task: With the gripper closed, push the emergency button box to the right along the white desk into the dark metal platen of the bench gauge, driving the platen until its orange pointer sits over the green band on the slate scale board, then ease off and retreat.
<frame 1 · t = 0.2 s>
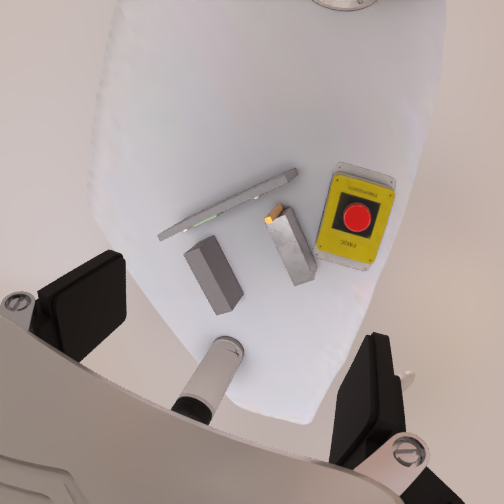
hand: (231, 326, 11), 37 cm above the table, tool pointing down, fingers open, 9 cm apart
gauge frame: (237, 197, 48), on the table
emergency button: (353, 217, 45), on the table
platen: (289, 246, 44), point 4 cm above the table, slide at 0.0 cm
travel mug: (229, 347, 59), on the table
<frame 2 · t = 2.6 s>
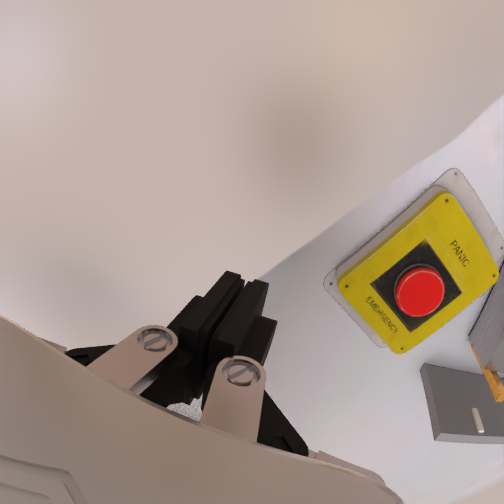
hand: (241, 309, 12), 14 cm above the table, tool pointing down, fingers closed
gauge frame: (493, 380, 24), on the table
emergency button: (419, 262, 24), on the table
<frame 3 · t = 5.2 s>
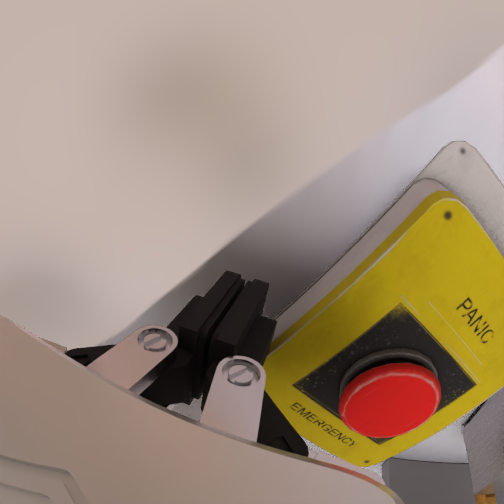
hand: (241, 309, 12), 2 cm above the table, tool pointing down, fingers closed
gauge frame: (490, 467, 14), on the table
emergency button: (400, 324, 13), on the table, touching gripper
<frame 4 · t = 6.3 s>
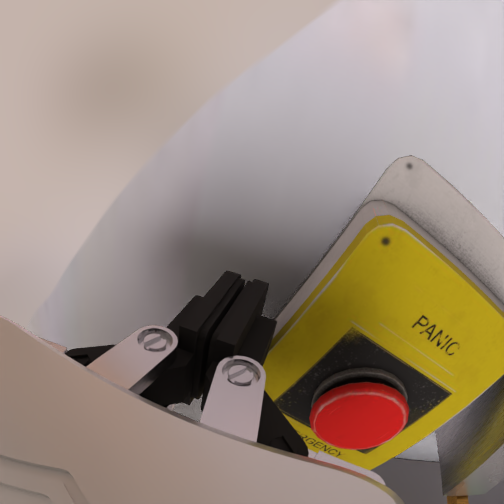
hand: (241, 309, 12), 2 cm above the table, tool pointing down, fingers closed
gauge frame: (429, 465, 15), on the table
emergency button: (374, 339, 14), on the table
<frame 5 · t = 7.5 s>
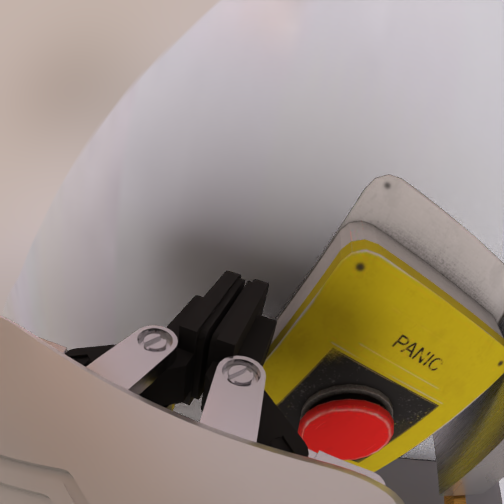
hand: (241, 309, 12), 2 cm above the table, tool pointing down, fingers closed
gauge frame: (382, 460, 15), on the table
emergency button: (363, 353, 14), on the table
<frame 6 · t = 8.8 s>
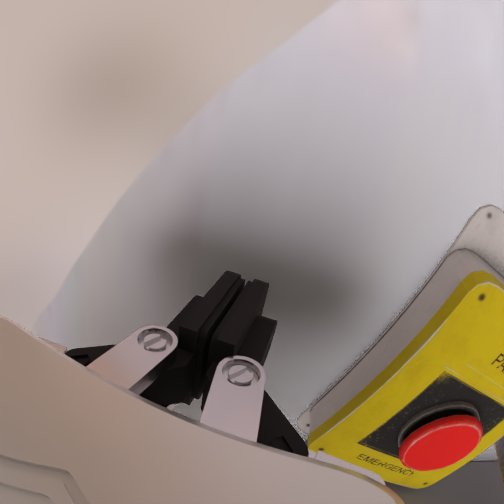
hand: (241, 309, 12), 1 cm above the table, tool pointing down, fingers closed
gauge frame: (440, 464, 14), on the table
emergency button: (443, 368, 13), on the table
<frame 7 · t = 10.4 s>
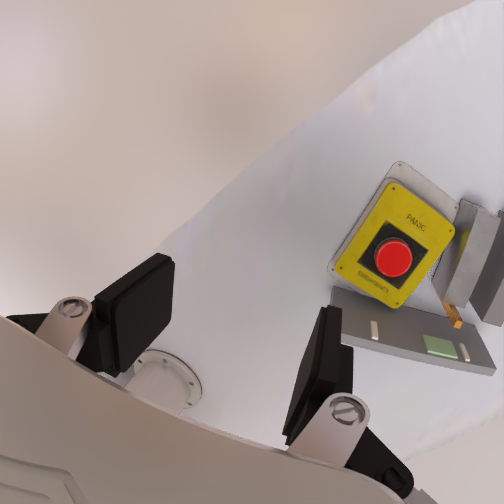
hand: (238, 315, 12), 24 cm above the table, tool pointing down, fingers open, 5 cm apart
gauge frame: (409, 311, 34), on the table
emergency button: (393, 237, 32), on the table
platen: (467, 262, 26), point 4 cm above the table, slide at 8.0 cm
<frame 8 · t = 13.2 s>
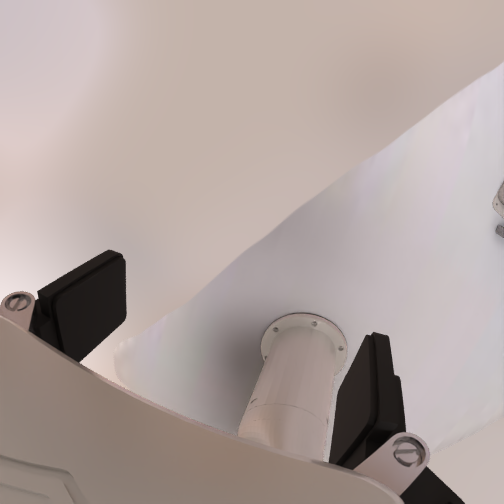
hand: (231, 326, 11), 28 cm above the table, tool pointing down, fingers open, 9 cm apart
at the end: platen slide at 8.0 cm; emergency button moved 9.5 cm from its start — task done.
